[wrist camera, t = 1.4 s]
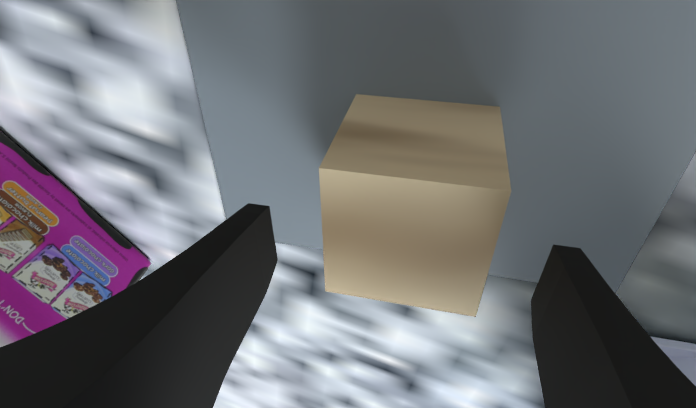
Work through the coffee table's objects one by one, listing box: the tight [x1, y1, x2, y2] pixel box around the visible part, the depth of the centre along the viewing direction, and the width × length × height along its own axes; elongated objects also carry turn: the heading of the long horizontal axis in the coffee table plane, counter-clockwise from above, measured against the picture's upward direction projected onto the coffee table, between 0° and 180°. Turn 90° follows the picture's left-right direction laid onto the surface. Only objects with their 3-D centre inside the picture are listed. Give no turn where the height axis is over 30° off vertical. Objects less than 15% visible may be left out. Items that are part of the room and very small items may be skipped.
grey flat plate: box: [176, 0, 696, 293], centre depth 12 cm, size 20×16×1 cm
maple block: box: [319, 94, 511, 317], centre depth 13 cm, size 4×4×4 cm
